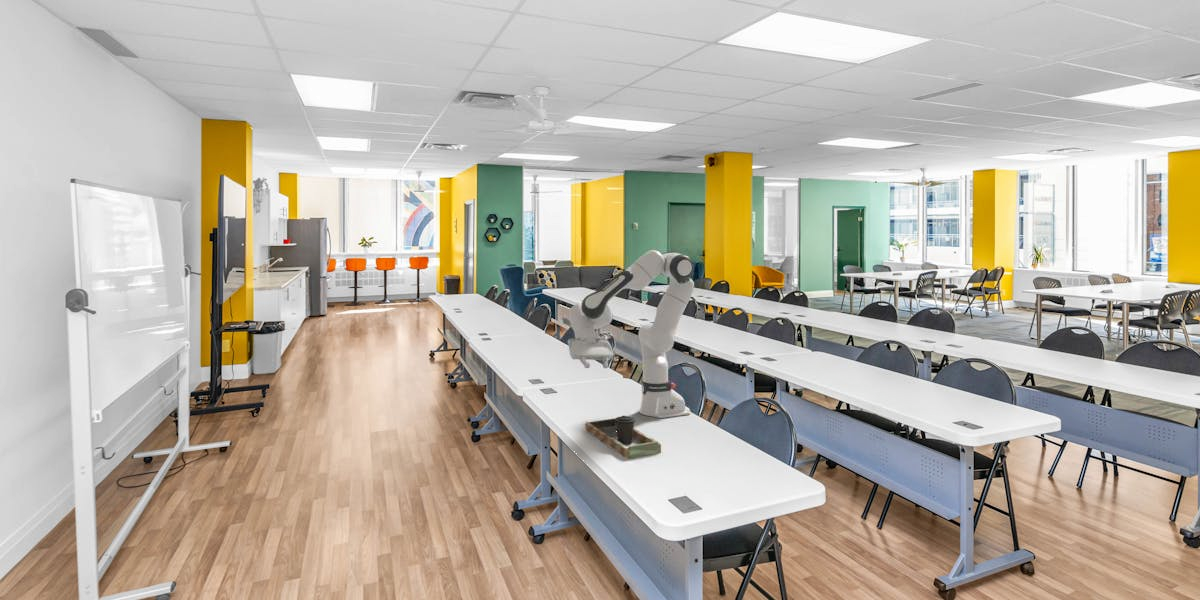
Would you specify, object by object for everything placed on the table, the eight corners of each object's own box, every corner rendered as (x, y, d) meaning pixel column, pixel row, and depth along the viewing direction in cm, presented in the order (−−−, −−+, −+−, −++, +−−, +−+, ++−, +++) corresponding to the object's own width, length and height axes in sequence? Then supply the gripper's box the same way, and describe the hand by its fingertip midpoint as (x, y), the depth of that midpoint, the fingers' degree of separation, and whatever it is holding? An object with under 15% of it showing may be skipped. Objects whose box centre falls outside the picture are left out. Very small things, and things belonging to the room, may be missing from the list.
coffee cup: (624, 437, 247) (624, 413, 246) (639, 442, 241) (639, 417, 240) (609, 442, 241) (609, 417, 240) (625, 448, 236) (625, 421, 234)
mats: (592, 430, 256) (592, 430, 256) (614, 427, 260) (614, 426, 260) (604, 438, 246) (604, 438, 246) (627, 435, 250) (627, 434, 250)
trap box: (585, 429, 257) (585, 420, 257) (616, 425, 263) (616, 415, 263) (627, 458, 225) (627, 447, 224) (660, 452, 231) (661, 441, 230)
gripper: (570, 333, 256) (580, 363, 249) (609, 335, 268) (620, 363, 261) (562, 342, 260) (572, 371, 253) (601, 343, 272) (612, 371, 265)
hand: (597, 367), depth 257 cm, fingers open, 8 cm apart
